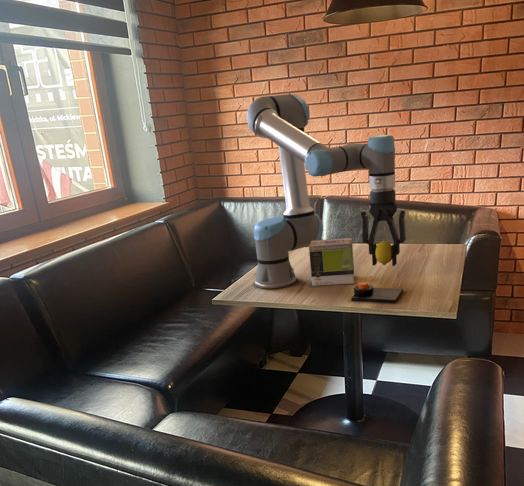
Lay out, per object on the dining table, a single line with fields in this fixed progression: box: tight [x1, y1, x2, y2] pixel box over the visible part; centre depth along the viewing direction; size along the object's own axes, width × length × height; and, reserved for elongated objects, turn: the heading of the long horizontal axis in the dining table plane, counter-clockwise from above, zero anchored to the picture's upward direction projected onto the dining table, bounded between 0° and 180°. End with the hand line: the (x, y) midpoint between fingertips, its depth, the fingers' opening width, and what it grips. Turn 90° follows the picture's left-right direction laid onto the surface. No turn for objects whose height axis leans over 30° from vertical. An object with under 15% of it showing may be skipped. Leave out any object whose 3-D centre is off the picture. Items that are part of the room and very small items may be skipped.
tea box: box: [308, 237, 355, 287], centre depth 191 cm, size 15×10×15 cm
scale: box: [351, 284, 404, 304], centre depth 173 cm, size 14×11×3 cm
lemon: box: [375, 239, 393, 266], centre depth 167 cm, size 6×6×8 cm
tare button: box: [357, 281, 369, 289], centre depth 174 cm, size 3×3×2 cm
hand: (384, 264), depth 168 cm, fingers closed on lemon, 5 cm apart
